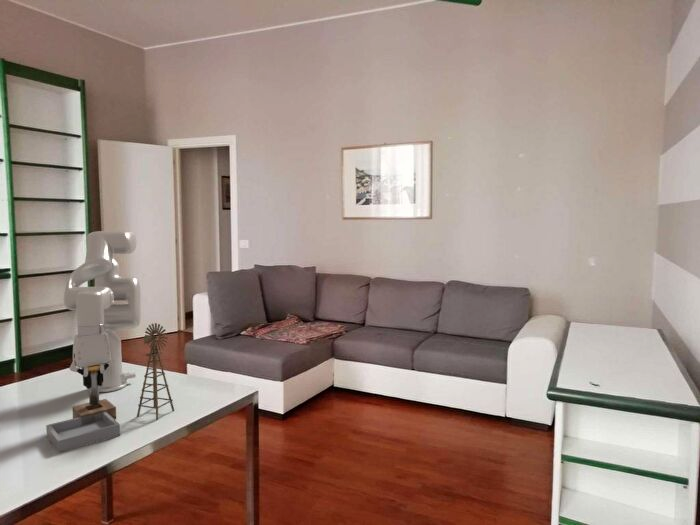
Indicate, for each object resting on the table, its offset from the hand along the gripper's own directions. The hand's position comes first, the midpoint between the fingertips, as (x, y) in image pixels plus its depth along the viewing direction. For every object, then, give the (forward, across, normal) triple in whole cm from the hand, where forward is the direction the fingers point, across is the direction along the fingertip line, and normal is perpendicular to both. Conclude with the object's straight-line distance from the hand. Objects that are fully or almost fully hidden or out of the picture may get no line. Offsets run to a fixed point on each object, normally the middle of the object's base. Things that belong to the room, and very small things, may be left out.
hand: (93, 385), depth 154 cm
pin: (+6, 0, 0) cm, 6 cm away
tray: (+10, +6, +12) cm, 17 cm away
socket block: (+11, 0, +1) cm, 11 cm away
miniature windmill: (+11, -16, +10) cm, 21 cm away
